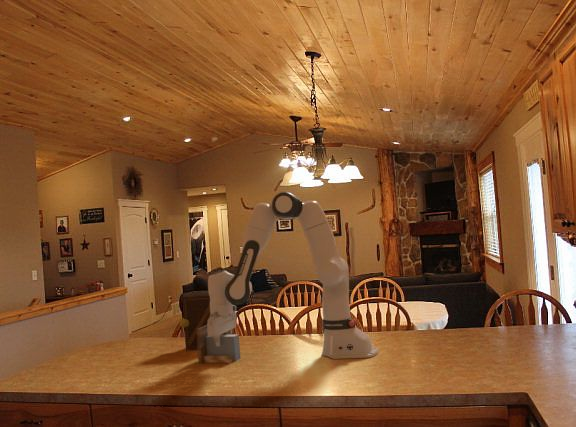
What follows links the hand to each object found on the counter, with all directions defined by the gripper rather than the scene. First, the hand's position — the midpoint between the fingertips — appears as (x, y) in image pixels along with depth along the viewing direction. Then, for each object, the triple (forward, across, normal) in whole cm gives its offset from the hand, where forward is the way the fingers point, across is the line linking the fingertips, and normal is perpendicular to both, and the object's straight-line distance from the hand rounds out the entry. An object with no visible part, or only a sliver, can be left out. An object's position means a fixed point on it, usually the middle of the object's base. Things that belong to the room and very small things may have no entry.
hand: (223, 343), depth 221 cm
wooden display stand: (+7, 0, +1) cm, 7 cm away
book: (+7, +20, +20) cm, 29 cm away
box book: (+7, 0, +1) cm, 7 cm away
